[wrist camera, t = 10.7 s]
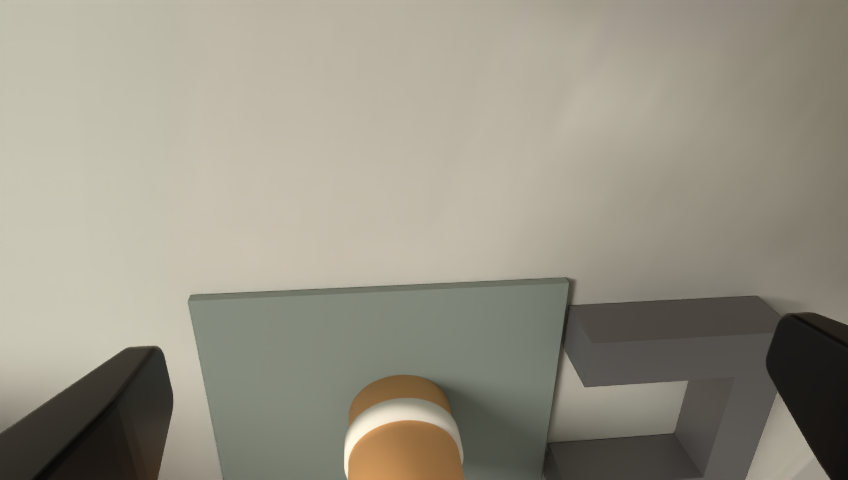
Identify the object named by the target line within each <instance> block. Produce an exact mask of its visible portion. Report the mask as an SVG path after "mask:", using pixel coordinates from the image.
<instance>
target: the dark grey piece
mask: <svg viewBox="0 0 848 480" xmlns="http://www.w3.org/2000/svg"><path fill="white" fill-rule="evenodd" d="M780 318H781V316H780V315H779V314H778V313H777V312H776V311H774V310H773V309H772V308H771V307H770V306H768V305H767V304H766V303H765V302H764V301H763V300H761V299H760V298H759V297H758V296H747V297H727V298H708V299H688V300H669V301H650V302H630V303H611V304H591V305H572V306H569V309H568V316H567V323H566V330H565V337H564V343H563V348H564V349H565V351H566V353H567V355H568V357H569V359H570V361H571V363H572V364H573V366H574V368H575V370H576V372H577V374H578V376H579V378H580V379H581V381H582V383H583V385H584V387H596V386H611V385H626V384H641V383H655V382H670V381H685V380H689V382H688V386H687V390H686V393H685V397H684V400H683V404H682V408H681V411H680V415H679V419H678V422H677V426H676V430H675V433H674V434H666V435H653V436H640V437H627V438H614V439H601V440H588V441H575V442H562V443H549V446H548V453H547V460H546V467H545V474H544V476H545V478H546V480H745V479H746V476H747V473H748V470H749V468H750V465H751V462H752V459H753V457H754V454H755V451H756V448H757V446H758V443H759V440H760V437H761V434H762V432H763V429H764V426H765V423H766V421H767V418H768V415H769V412H770V410H771V407H772V404H773V401H774V399H775V396H776V393H777V389H776V387H775V385H774V383H773V382H772V380H771V378H770V376H769V374H768V372H767V369H766V363H765V362H766V355H767V352H768V349H769V346H770V343H771V340H772V337H773V335H774V332H775V329H776V326H777V323H778V321H779V319H780Z"/></svg>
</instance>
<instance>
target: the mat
mask: <svg viewBox="0 0 848 480" xmlns="http://www.w3.org/2000/svg"><path fill="white" fill-rule="evenodd" d="M568 288H569V282H568V281H567V279H566V278H551V279H530V280H508V281H486V282H465V283H443V284H422V285H400V286H379V287H357V288H335V289H314V290H292V291H271V292H249V293H228V294H206V295H190V298H189V300H188V305H189V310H190V315H191V320H192V325H193V330H194V335H195V340H196V345H197V350H198V355H199V360H200V365H201V370H202V375H203V380H204V385H205V390H206V395H207V400H208V405H209V410H210V415H211V420H212V425H213V430H214V435H215V440H216V445H217V450H218V455H219V460H220V465H221V470H222V475H223V480H348V479H347V477H346V474H345V470H344V447H345V436H346V433H347V431H348V428H349V411H350V407H351V404H352V402H353V400H354V398H355V397H356V396H357V394H358V393H359V392H360V391H361V390H362V389H364V388H365V387H366V386H367V385H369V384H371V383H372V382H374V381H377V380H379V379H382V378H385V377H389V376H394V375H413V376H418V377H421V378H424V379H427V380H429V381H431V382H433V383H434V384H436V385H437V386H438V387H439V388H441V390H442V391H443V392H444V393H445V395H446V397H447V399H448V401H449V405H450V410H451V415H452V417H453V419H454V420H455V422H456V424H457V426H458V430H459V435H460V439H461V444H462V449H463V464H462V468H463V473H464V478H465V480H541V476H542V469H543V462H544V455H545V448H546V441H547V434H548V427H549V420H550V413H551V406H552V399H553V393H554V386H555V379H556V372H557V365H558V358H559V351H560V344H561V337H562V330H563V323H564V316H565V309H566V302H567V295H568Z"/></svg>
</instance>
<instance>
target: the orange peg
mask: <svg viewBox="0 0 848 480" xmlns="http://www.w3.org/2000/svg"><path fill="white" fill-rule="evenodd" d="M462 464H463V449H462V444H461V439H460V435H459V430H458V426H457V424H456V422H455V420H454V419H453V417H452V415H451V410H450V405H449V401H448V399H447V397H446V395H445V393H444V392H443V391H442V390H441V388H439V387H438V386H437V385H436V384H434V383H433V382H431V381H429V380H427V379H424V378H421V377H418V376H413V375H394V376H389V377H385V378H382V379H379V380H377V381H374V382H372V383H371V384H369V385H367V386H366V387H365V388H364V389H362V390H361V391H360V392H359V393H358V394H357V396H356V397H355V398H354V400H353V402H352V404H351V407H350V411H349V428H348V431H347V433H346V436H345V447H344V470H345V474H346V477H347V479H348V480H465V478H464V473H463V468H462Z"/></svg>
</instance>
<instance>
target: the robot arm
mask: <svg viewBox="0 0 848 480" xmlns="http://www.w3.org/2000/svg"><path fill="white" fill-rule="evenodd" d="M765 363H766V369H767V372H768V374H769V376H770V378H771V380H772V382H773V383H774V385H775V387H776V389H777V390H778V392H779V394H780V396H781V397H782V399H783V401H784V403H785V404H786V406H787V408H788V410H789V411H790V413H791V415H792V417H793V418H794V420H795V422H796V424H797V425H798V427H799V429H800V431H801V432H802V434H803V436H804V438H805V440H806V441H807V443H808V445H809V447H810V448H811V450H812V452H813V453H814V455H815V457H816V458H817V460H818V462H819V463H820V465H821V466H822V468H823V469H824V471H825V472H826V474H827V475H828V477H829V478H830V480H848V325H846V324H843V323H840V322H838V321H835V320H832V319H830V318H827V317H824V316H822V315H819V314H816V313H811V312H804V313H788V314H785V315H783V316H782V317H781V318H780V319H779V321H778V323H777V326H776V329H775V332H774V335H773V337H772V340H771V343H770V346H769V349H768V352H767V355H766V362H765ZM172 410H173V392H172V387H171V383H170V379H169V374H168V370H167V366H166V361H165V357H164V354H163V352H162V350H161V348H159V347H157V346H139V347H128V348H126V349H124V350H122V351H121V352H119V353H118V354H117V355H115V356H114V357H112V358H111V359H109V360H108V361H106V362H105V363H103V364H102V365H100V366H99V367H97V368H96V369H94V370H93V371H91V372H90V373H89V374H87V375H86V376H84V377H83V378H81V379H80V380H78V381H77V382H75V383H74V384H72V385H71V386H69V387H68V388H66V389H65V390H64V391H62V392H61V393H59V394H58V395H56V396H55V397H53V398H52V399H50V400H49V401H47V402H46V403H44V404H43V405H41V406H40V407H39V408H37V409H36V410H34V411H33V412H31V413H30V414H28V415H27V416H25V417H24V418H22V419H21V420H19V421H18V422H16V423H15V424H14V425H12V426H11V427H9V428H8V429H6V430H5V431H3V432H2V433H0V480H157V479H158V474H159V470H160V465H161V461H162V456H163V452H164V447H165V442H166V438H167V433H168V429H169V424H170V420H171V415H172Z"/></svg>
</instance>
